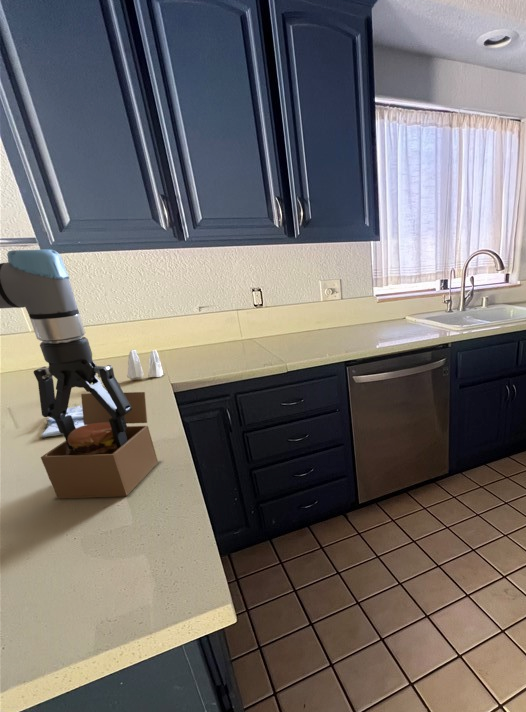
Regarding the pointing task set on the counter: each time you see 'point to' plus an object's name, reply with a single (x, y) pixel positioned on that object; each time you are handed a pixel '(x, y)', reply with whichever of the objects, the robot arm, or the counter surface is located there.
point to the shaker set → (135, 366)
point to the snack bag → (74, 411)
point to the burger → (92, 438)
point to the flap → (98, 414)
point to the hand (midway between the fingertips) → (99, 445)
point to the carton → (101, 467)
